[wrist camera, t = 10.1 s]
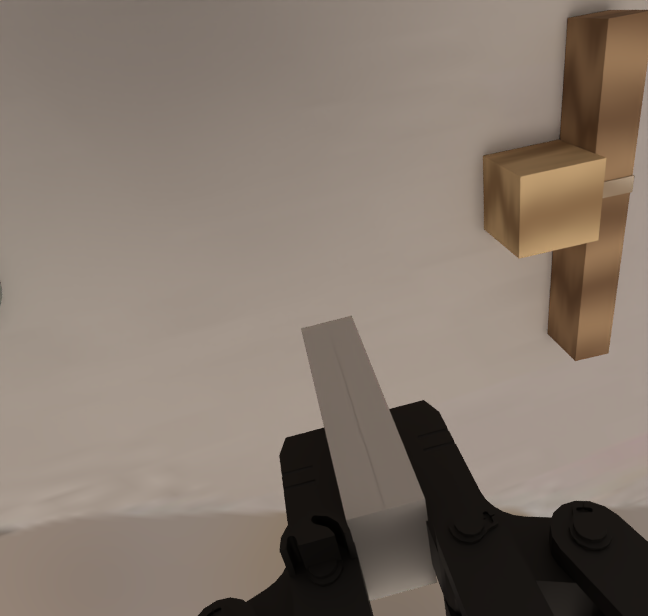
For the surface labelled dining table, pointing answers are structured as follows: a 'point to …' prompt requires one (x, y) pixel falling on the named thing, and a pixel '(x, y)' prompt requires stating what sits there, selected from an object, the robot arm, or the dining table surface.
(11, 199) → the dining table surface
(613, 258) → the board
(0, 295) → the mug
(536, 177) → the block
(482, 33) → the dining table surface
